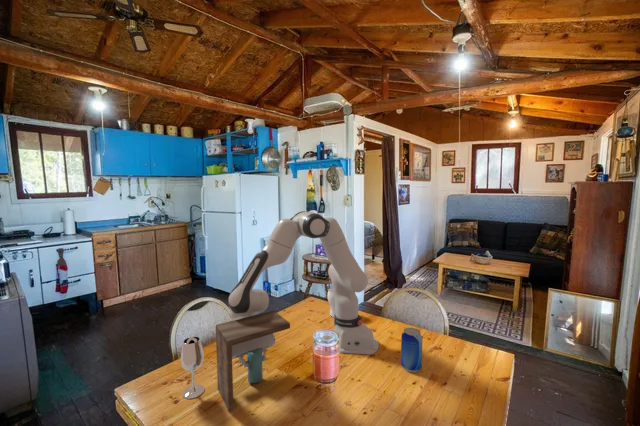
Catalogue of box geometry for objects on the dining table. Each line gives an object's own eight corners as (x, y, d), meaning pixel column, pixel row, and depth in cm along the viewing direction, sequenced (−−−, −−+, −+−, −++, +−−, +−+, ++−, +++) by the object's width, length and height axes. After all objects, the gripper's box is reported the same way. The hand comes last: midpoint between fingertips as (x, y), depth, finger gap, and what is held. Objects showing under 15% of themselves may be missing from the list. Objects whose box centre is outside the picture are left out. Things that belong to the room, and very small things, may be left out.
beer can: (397, 367, 125) (397, 331, 123) (406, 359, 131) (407, 324, 129) (416, 376, 119) (417, 338, 118) (425, 367, 125) (426, 330, 124)
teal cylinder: (265, 375, 118) (264, 349, 117) (258, 384, 113) (257, 356, 112) (252, 372, 120) (251, 346, 119) (245, 381, 114) (244, 354, 113)
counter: (217, 388, 111) (215, 324, 109) (274, 367, 125) (273, 310, 122) (228, 412, 100) (227, 341, 98) (290, 386, 113) (289, 323, 111)
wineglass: (196, 400, 105) (194, 346, 104) (177, 397, 107) (174, 344, 105) (209, 386, 113) (207, 336, 111) (190, 383, 114) (188, 334, 113)
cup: (328, 310, 183) (328, 287, 181) (345, 311, 181) (345, 287, 180) (326, 318, 172) (326, 293, 171) (344, 319, 171) (344, 294, 169)
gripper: (222, 333, 114) (230, 370, 107) (270, 320, 126) (281, 352, 119) (219, 339, 119) (227, 375, 111) (266, 326, 130) (276, 358, 123)
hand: (255, 363), depth 115 cm, fingers open, 6 cm apart
